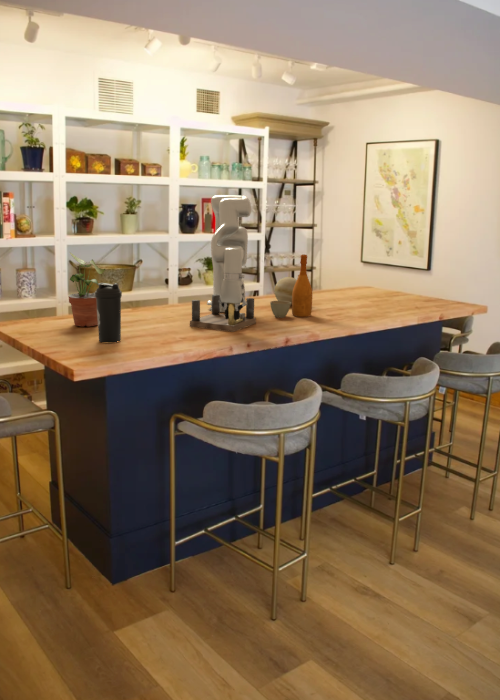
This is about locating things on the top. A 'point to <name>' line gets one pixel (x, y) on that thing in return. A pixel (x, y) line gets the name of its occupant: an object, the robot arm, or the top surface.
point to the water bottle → (109, 312)
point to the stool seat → (220, 316)
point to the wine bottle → (302, 292)
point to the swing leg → (231, 315)
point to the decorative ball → (285, 289)
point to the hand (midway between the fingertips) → (232, 318)
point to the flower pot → (280, 308)
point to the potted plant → (84, 298)
